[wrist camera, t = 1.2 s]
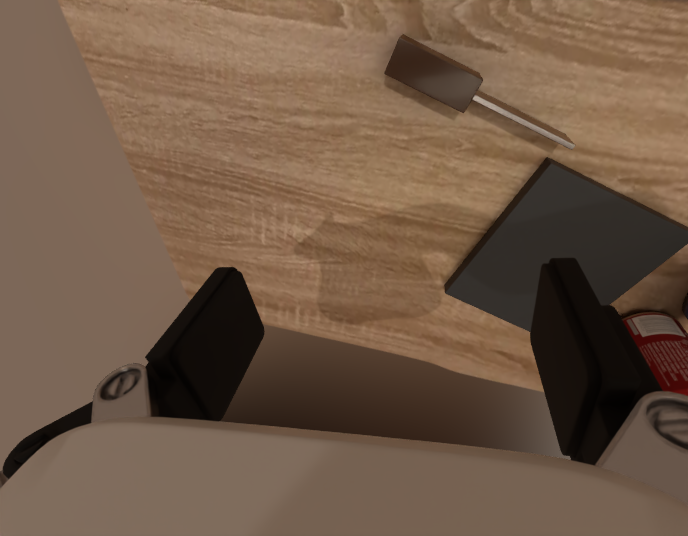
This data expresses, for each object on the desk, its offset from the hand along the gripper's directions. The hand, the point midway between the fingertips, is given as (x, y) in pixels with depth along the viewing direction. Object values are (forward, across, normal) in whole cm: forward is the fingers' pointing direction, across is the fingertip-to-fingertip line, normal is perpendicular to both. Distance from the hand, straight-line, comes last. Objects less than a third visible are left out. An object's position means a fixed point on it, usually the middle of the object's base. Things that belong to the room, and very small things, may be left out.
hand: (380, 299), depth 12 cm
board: (+26, -13, +17) cm, 34 cm away
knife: (+26, -5, 0) cm, 26 cm away
